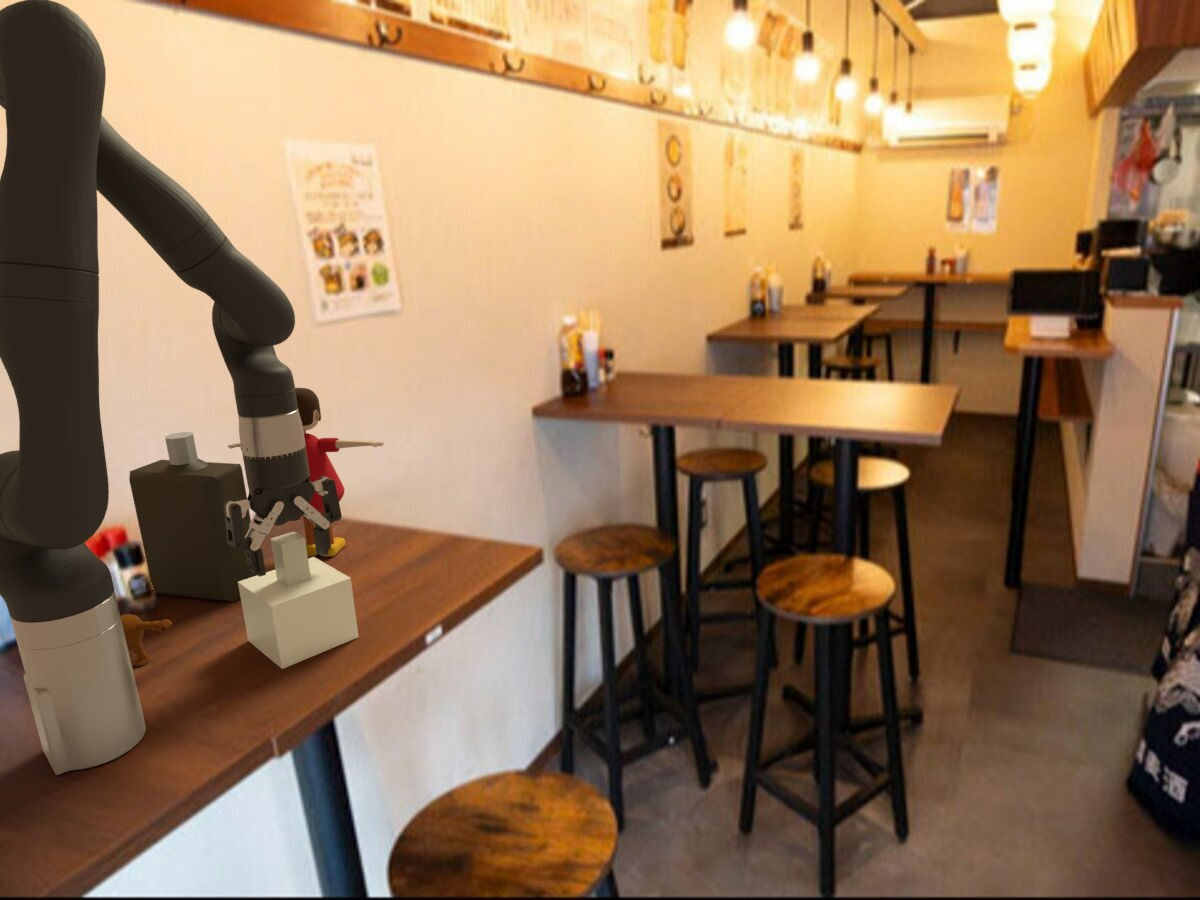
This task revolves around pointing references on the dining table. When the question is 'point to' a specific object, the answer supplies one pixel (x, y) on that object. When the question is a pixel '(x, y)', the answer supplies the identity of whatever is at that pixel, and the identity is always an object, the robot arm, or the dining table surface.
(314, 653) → the cover
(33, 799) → the dining table surface
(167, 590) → the bottle
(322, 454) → the toy
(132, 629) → the toy figurine
